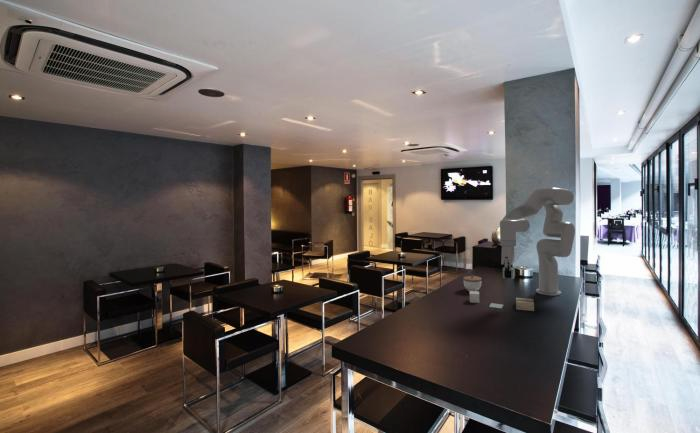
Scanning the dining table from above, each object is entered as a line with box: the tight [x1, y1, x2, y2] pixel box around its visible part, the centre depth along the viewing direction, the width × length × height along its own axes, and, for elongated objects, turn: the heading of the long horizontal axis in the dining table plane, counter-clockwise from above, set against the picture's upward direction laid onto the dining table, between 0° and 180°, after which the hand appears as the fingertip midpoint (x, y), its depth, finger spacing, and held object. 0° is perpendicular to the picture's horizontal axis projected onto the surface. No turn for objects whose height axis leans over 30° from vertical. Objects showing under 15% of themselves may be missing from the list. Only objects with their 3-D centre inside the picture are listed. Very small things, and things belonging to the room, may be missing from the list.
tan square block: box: [515, 297, 535, 312], centre depth 172 cm, size 8×8×4 cm
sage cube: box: [502, 266, 516, 280], centre depth 177 cm, size 5×5×5 cm
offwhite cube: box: [469, 290, 480, 304], centre depth 185 cm, size 5×5×5 cm
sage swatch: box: [488, 302, 504, 310], centre depth 176 cm, size 6×6×1 cm
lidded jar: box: [462, 275, 482, 292], centre depth 206 cm, size 11×11×9 cm
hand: (509, 276), depth 177 cm, fingers closed on sage cube, 5 cm apart
